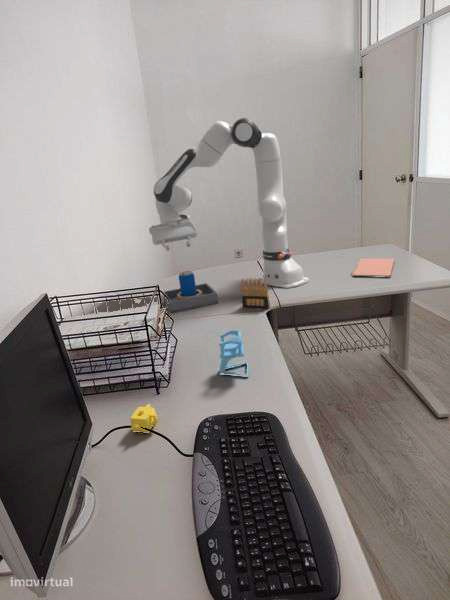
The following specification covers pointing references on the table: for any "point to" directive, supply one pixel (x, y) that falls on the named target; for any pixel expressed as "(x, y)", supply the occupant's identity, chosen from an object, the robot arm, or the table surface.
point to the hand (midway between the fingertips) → (178, 247)
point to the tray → (191, 298)
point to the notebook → (373, 267)
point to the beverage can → (187, 284)
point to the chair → (231, 351)
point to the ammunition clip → (255, 295)
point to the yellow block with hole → (143, 418)
